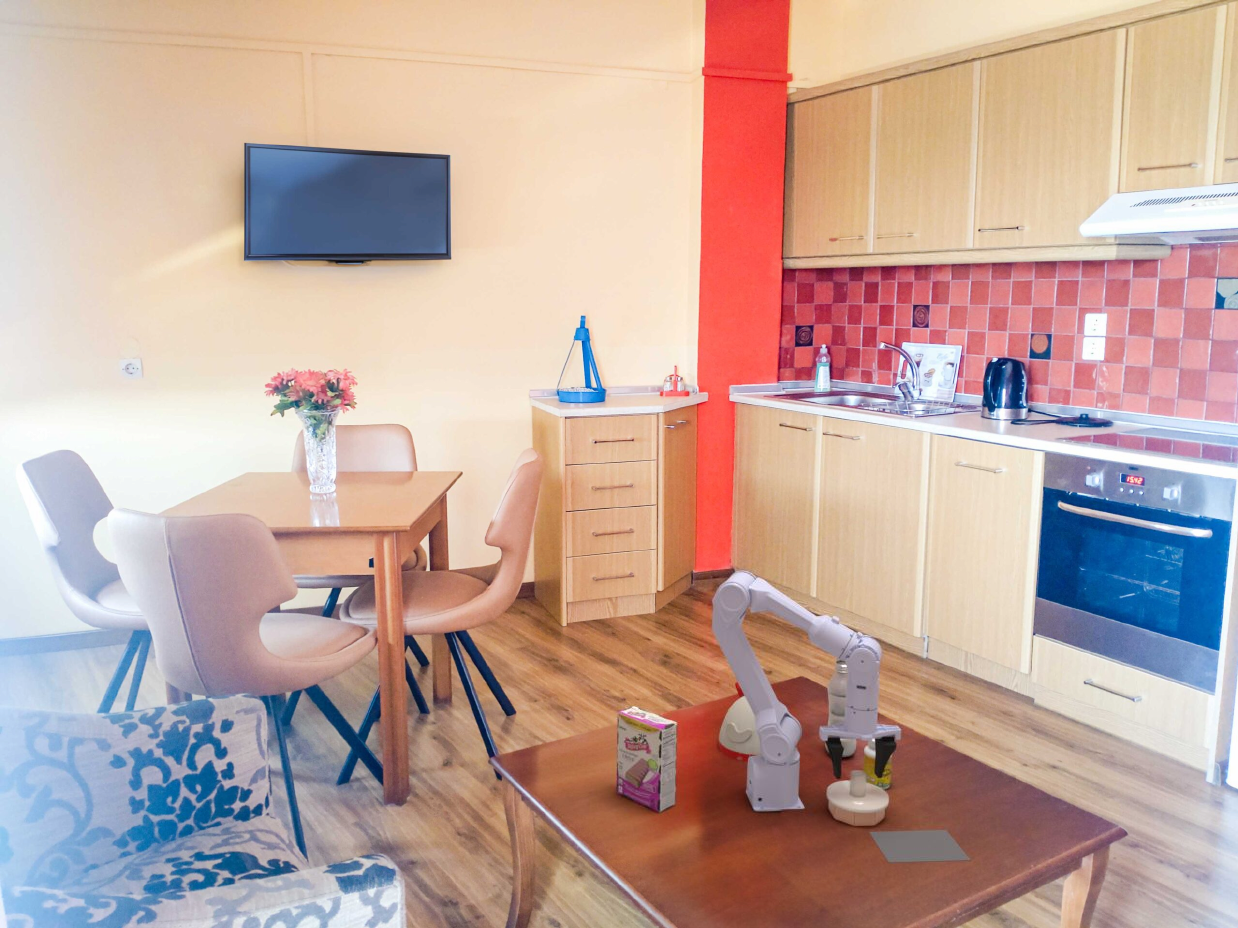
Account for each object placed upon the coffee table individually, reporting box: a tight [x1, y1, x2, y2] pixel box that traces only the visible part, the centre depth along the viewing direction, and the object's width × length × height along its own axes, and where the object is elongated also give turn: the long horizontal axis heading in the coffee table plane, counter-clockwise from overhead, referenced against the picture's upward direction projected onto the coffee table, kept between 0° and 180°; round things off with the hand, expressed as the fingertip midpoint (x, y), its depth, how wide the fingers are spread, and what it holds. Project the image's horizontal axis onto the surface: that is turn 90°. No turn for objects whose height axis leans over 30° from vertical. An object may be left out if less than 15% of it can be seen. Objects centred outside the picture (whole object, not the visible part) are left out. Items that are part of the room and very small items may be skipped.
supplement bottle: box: [862, 739, 893, 791], centre depth 190 cm, size 5×5×10 cm
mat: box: [868, 829, 971, 864], centre depth 167 cm, size 14×10×1 cm
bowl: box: [828, 800, 886, 827], centre depth 178 cm, size 9×9×4 cm
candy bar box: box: [616, 705, 678, 813], centre depth 182 cm, size 11×5×16 cm, turn 47°
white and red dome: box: [718, 681, 761, 763], centre depth 206 cm, size 14×14×15 cm
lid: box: [826, 769, 890, 813], centre depth 177 cm, size 11×11×5 cm
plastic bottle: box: [824, 659, 857, 758], centre depth 203 cm, size 6×7×20 cm
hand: (857, 776), depth 177 cm, fingers open, 7 cm apart
